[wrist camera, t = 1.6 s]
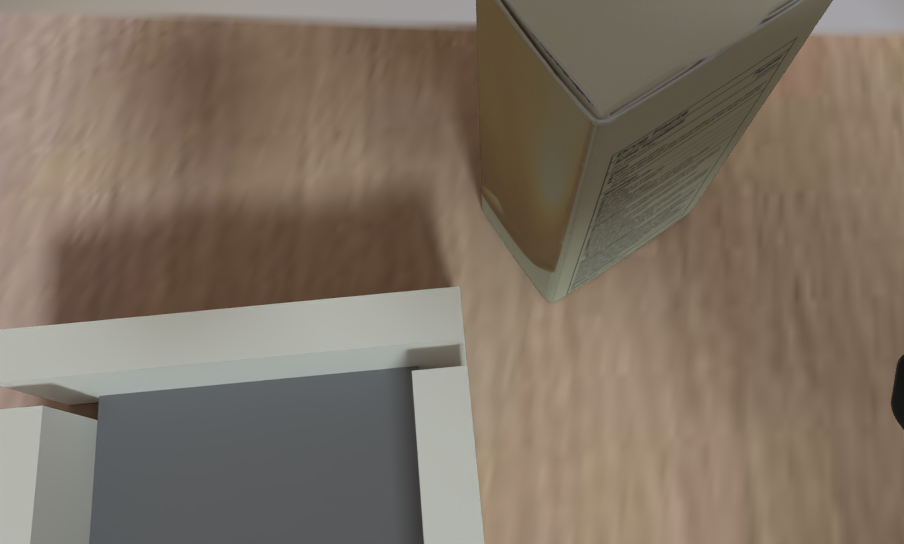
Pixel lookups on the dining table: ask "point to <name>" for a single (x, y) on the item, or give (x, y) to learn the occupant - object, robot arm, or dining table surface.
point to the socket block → (245, 426)
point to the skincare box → (616, 117)
